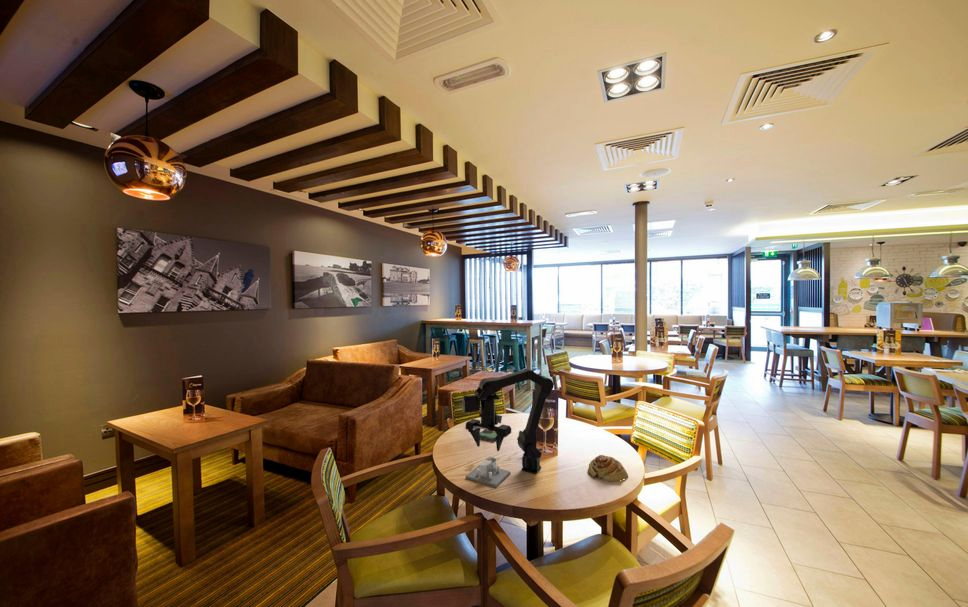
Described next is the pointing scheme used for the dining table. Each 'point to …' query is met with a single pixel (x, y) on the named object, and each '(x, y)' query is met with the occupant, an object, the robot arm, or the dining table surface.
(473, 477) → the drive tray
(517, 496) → the dining table surface
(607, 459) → the pastry
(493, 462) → the block
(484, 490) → the dining table surface
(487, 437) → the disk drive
